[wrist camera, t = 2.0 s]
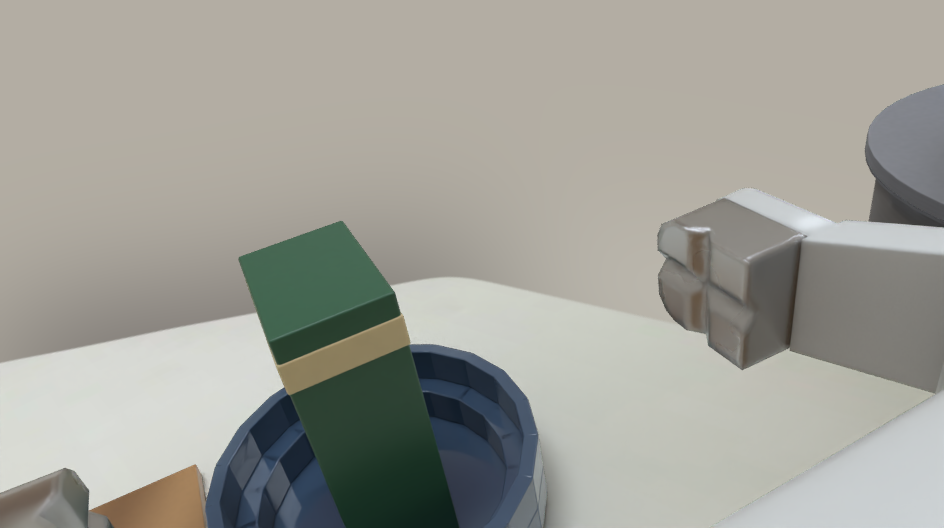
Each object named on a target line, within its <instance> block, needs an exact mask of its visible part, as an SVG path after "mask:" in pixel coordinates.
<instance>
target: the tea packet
mask: <svg viewBox="0 0 944 528" xmlns="http://www.w3.org/2000/svg"><path fill="white" fill-rule="evenodd" d="M239 262H240V265H241V268H242V271H243V274H244V276H245V279H246V283H247V286H248V289H249V291H250V294H251V297H252V300H253V303H254V306H255V309H256V311H257V314H258V317H259V320H260V323H261V326H262V328H263V331H264V334H265V337H266V340H267V343H268V345H269V348H270V351H271V354H272V357H273V360H274V362H275V365H276V368H277V370H278V373H279V375H280V378H281V380H282V382H283V385H284V387H285V390H286V392H287V394H289V395H290V397H291V399H292V402H293V404H294V406H295V409H296V411H297V414H298V416H299V418H300V421H301V423H302V426H303V428H304V430H305V433H306V435H307V438H308V440H309V442H310V445H311V447H312V449H313V452H314V454H315V457H316V459H317V461H318V464H319V466H320V469H321V471H322V473H323V476H324V478H325V481H326V483H327V485H328V488H329V490H330V493H331V495H332V497H333V500H334V502H335V505H336V507H337V509H338V512H339V514H340V516H341V519H342V521H343V524H344V526H345V528H460V527H459V523H458V520H457V516H456V512H455V509H454V505H453V501H452V498H451V494H450V491H449V487H448V483H447V480H446V476H445V472H444V469H443V465H442V462H441V458H440V454H439V451H438V447H437V443H436V440H435V436H434V432H433V429H432V425H431V422H430V418H429V414H428V411H427V407H426V403H425V400H424V396H423V393H422V389H421V385H420V382H419V378H418V374H417V371H416V367H415V363H414V360H413V356H412V353H411V349H410V345H409V344H410V338H409V335H408V331H407V327H406V324H405V320H404V316H403V315H402V313H401V312H400V309H399V305H398V302H397V298H396V295H395V292H394V291H393V289H392V288H391V287H390V285H389V284H388V283H387V281H386V280H385V278H384V277H383V276H382V274H381V273H380V272H379V270H378V269H377V268H376V266H375V265H374V263H373V262H372V261H371V259H370V258H369V256H368V255H367V254H366V252H365V251H364V250H363V248H362V247H361V246H360V244H359V243H358V241H357V240H356V239H355V237H354V236H353V235H352V233H351V232H350V231H349V229H348V228H347V226H346V225H345V224H344V222H343V221H339V222H336V223H333V224H331V225H328V226H325V227H322V228H319V229H317V230H314V231H311V232H308V233H305V234H303V235H300V236H297V237H294V238H291V239H288V240H286V241H283V242H280V243H277V244H274V245H271V246H269V247H266V248H263V249H261V250H258V251H255V252H252V253H249V254H246V255H243V256H241V257H239Z"/></svg>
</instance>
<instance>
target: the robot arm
mask: <svg viewBox="0 0 944 528" xmlns="http://www.w3.org/2000/svg"><path fill="white" fill-rule="evenodd" d="M658 251H659V252H660V253H661V254H662V255H663V256H664V257H665V258H666V260H665V262H664V264H663V266H662V268H661V270H660V272H659V274H658V281H659V295H660V297H661V299H662V301H663V304H664V306H665V308H666V311H668V313H669V314H670V315H671V317H672V318H673V319H674V320H675V321H676V322H677V323H678V324H680V325H681V326H682V327H684V328H685V329H686V330H689V331H694V332H699V333H704V334H706V337H707V342H708V346H709V347H711V348H712V349H714V350H715V351H716V352H718V353H719V354H721V355H722V356H723V357H725V358H726V359H727V360H729V361H730V362H732V363H733V364H734V365H736V366H737V367H739V368H740V369H741V370H744V369H746V368H748V367H750V366H752V365H754V364H756V363H758V362H760V361H763V360H765V359H767V358H769V357H771V356H773V355H775V354H777V353H780V352H782V351H784V350H786V349H788V348H790V351H792V352H796V353H799V354H802V355H806V356H809V357H813V358H816V359H819V360H823V361H826V362H830V363H833V364H836V365H840V366H843V367H847V368H850V369H853V370H857V371H860V372H864V373H867V374H870V375H874V376H877V377H881V378H884V379H887V380H891V381H894V382H898V383H901V384H904V385H908V386H911V387H915V388H918V389H921V390H925V391H928V392H932V393H935V395H933V396H932V397H930V398H928V399H927V400H925V401H923V402H921V403H920V404H918V405H916V406H915V407H913V408H911V409H910V410H908V411H906V412H904V413H903V414H901V415H899V416H898V417H896V418H894V419H892V420H891V421H889V422H887V423H886V424H884V425H882V426H881V427H879V428H877V429H875V430H874V431H872V432H870V433H869V434H867V435H865V436H864V437H862V438H860V439H859V440H857V441H855V442H853V443H852V444H850V445H848V446H847V447H845V448H843V449H842V450H840V451H838V452H836V453H835V454H833V455H831V456H830V457H828V458H826V459H825V460H823V461H821V462H819V463H818V464H816V465H814V466H813V467H811V468H809V469H808V470H806V471H804V472H802V473H801V474H799V475H797V476H796V477H794V478H792V479H791V480H789V481H787V482H785V483H784V484H782V485H780V486H779V487H777V488H775V489H774V490H772V491H770V492H769V493H767V494H765V495H763V496H762V497H760V498H758V499H757V500H755V501H753V502H752V503H750V504H748V505H746V506H745V507H743V508H741V509H740V510H738V511H736V512H735V513H733V514H731V515H729V516H728V517H726V518H724V519H723V520H721V521H719V522H718V523H716V524H714V525H712V526H711V527H709V528H944V228H943V227H930V226H917V225H904V224H891V223H878V222H866V221H853V220H845V221H842V222H840V223H836V222H833V221H831V220H829V219H826V218H824V217H821V216H819V215H817V214H814V213H812V212H810V211H807V210H805V209H803V208H800V207H798V206H795V205H793V204H791V203H788V202H786V201H784V200H781V199H779V198H777V197H774V196H772V195H769V194H767V193H765V192H762V191H760V190H758V189H755V188H742V189H740V190H737V191H735V192H733V193H731V194H729V195H726V196H724V197H722V198H720V199H718V200H716V201H715V202H713V203H711V204H708V205H706V206H703V207H701V208H699V209H697V210H694V211H692V212H689V213H687V214H684V215H682V216H680V217H678V218H676V219H673V220H670V221H668V222H665V223H663V224H661V227H660V230H659V232H658ZM88 504H89V490H88V489H87V487H86V486H85V485H84V483H83V482H82V481H81V479H80V478H79V477H78V475H77V474H76V473H75V471H73V470H70V469H67V468H64V469H61V470H58V471H56V472H53V473H51V474H48V475H46V476H43V477H40V478H38V479H35V480H33V481H30V482H28V483H25V484H22V485H20V486H17V487H15V488H12V489H10V490H7V491H4V492H2V493H0V528H114V527H113V525H112V524H111V522H110V520H109V519H108V517H107V516H105V515H101V514H98V513H94V512H91V511H88Z"/></svg>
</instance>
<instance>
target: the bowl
mask: <svg viewBox="0 0 944 528" xmlns="http://www.w3.org/2000/svg"><path fill="white" fill-rule="evenodd" d="M410 349H411V353H412V356H413V360H414V363H415V367H416V371H417V374H418V378H419V382H420V385H421V389H422V393H423V396H424V400H425V403H426V407H427V411H428V414H429V418H430V422H431V425H432V429H433V432H434V436H435V440H436V443H437V447H438V451H439V454H440V458H441V462H442V465H443V469H444V472H445V476H446V480H447V483H448V487H449V491H450V494H451V498H452V501H453V505H454V509H455V512H456V516H457V520H458V523H459V527H460V528H543V527H544V518H545V509H546V499H547V485H546V479H545V473H544V466H543V460H542V454H541V447H540V441H539V435H538V431H537V428H536V424H535V421H534V417H533V414H532V411H531V407H530V404H529V400H528V399H527V397H526V396H525V395H524V393H523V392H522V391H521V390H520V389H519V387H518V386H517V385H516V384H515V383H514V382H513V380H512V379H511V378H510V377H509V376H508V374H507V373H506V372H505V371H504V370H502V369H500V368H499V367H497V366H495V365H493V364H491V363H490V362H488V361H486V360H484V359H482V358H481V357H479V356H477V355H475V354H474V353H471V352H466V351H462V350H457V349H453V348H449V347H444V346H440V345H433V344H412V345H410ZM205 514H206V521H207V528H345V526H344V524H343V521H342V519H341V516H340V514H339V512H338V509H337V507H336V505H335V502H334V500H333V497H332V495H331V493H330V490H329V488H328V485H327V483H326V481H325V478H324V476H323V473H322V471H321V469H320V466H319V464H318V461H317V459H316V457H315V454H314V452H313V449H312V447H311V445H310V442H309V440H308V438H307V435H306V433H305V430H304V428H303V426H302V423H301V421H300V418H299V416H298V414H297V411H296V409H295V406H294V404H293V402H292V399H291V397H290V395H289V394H287V392H286V390H285V387H284V388H283V389H281V390H279V391H278V392H276V393H275V394H273V395H272V396H271V397H269V398H268V399H267V400H266V401H265V402H264V403H263V404H262V405H261V406H260V407H259V408H258V409H257V410H256V411H255V412H254V413H253V414H252V415H251V416H250V417H249V418H248V419H247V420H246V421H245V422H244V423H243V424H242V425H241V426H240V427H239V429H238V430H237V432H236V433H235V435H234V436H233V438H232V440H231V441H230V443H229V445H228V446H227V448H226V449H225V451H224V453H223V454H222V456H221V458H220V459H219V461H218V462H217V464H216V467H215V469H214V473H213V477H212V481H211V485H210V489H209V493H208V496H207V500H206V504H205Z"/></svg>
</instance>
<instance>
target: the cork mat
mask: <svg viewBox="0 0 944 528" xmlns="http://www.w3.org/2000/svg"><path fill="white" fill-rule="evenodd" d="M205 504H206V500H205V494H204V487H203V481H202V474H201V473H200V471H199V469H198V467H197V466H196V465H192V466H190V467H188V468H186V469H183V470H181V471H179V472H176V473H174V474H172V475H170V476H167V477H165V478H163V479H160V480H158V481H156V482H154V483H151V484H149V485H147V486H144V487H142V488H140V489H137V490H135V491H133V492H131V493H128V494H126V495H124V496H121V497H119V498H117V499H115V500H112V501H110V502H108V503H105V504H103V505H101V506H99V507H96V508H94V509H92V510H89V511H91V512H94V513H98V514H101V515H105V516H107V517H108V519H109V520H110V522H111V524H112V525H113V527H114V528H207V521H206V514H205Z"/></svg>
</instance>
